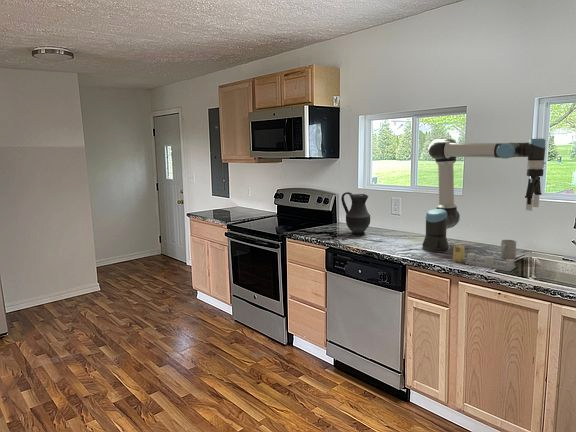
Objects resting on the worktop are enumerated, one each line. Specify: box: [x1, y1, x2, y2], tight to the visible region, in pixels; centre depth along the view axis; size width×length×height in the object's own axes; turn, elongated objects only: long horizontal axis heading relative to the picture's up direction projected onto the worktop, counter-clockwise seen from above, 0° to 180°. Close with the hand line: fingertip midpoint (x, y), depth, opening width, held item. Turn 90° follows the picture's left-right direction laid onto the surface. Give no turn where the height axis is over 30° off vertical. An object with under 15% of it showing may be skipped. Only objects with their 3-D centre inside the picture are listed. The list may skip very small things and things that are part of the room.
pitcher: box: [340, 191, 371, 237], centre depth 296 cm, size 17×21×30 cm
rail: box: [464, 252, 517, 272], centre depth 216 cm, size 22×9×5 cm, turn 47°
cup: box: [500, 239, 517, 260], centre depth 228 cm, size 7×10×9 cm
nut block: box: [452, 244, 466, 263], centre depth 226 cm, size 4×4×8 cm
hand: (532, 208), depth 223 cm, fingers open, 13 cm apart
